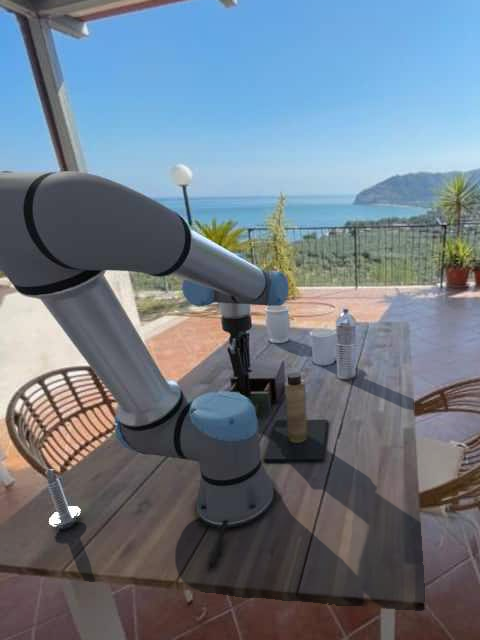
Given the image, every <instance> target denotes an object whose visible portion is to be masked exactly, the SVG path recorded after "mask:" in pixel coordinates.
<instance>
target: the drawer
mask: <svg viewBox="0 0 480 640" xmlns="http://www.w3.org/2000/svg"><path fill="white" fill-rule="evenodd" d="M250 390H251V395H250V396H249V397H247V398H248V399H249V400H250V401H251V402H252V404H253V405H254V408H255V412H256V415H271V405H272V404H273V403H272V400H273V398H274V389H273V381H250ZM228 391H229V392H235V393H238V394H240V392H239V385H238V381H235V382H234V384H233V385H232V387H231V386H230V388H229V390H228Z"/></svg>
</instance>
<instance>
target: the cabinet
mask: <svg viewBox="0 0 480 640" xmlns="http://www.w3.org/2000/svg"><path fill="white" fill-rule="evenodd" d="M249 369H252V371H251V372H247V373H249V381H273V389H274V398H273V400H272V403H271V404H278V402H279V399H280V397H281V395H282V392H283V389H284V387H285V386H284V382H285V381H286V372H285V371H286V370H285V360H284V358H250V368H249ZM229 380H230V388H231V387H232V385H233V384H234V382H235V381H238V377H235V376H234V373H233V374H232V375H231V377H230V378H229Z"/></svg>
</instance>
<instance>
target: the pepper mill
mask: <svg viewBox="0 0 480 640" xmlns="http://www.w3.org/2000/svg"><path fill="white" fill-rule="evenodd" d="M283 387H284V398H285V411H286V420H287V426H288V439H289V441H291V442H293V443H300V442H303V441H305V440H306V439H307V437H308V434H307V420H308V419H307V418H308V417H307V399H306V397H307V396H306V381H305V380H304V379H303V378H302V376H301V373H300V372H290V373H288V374H287V380H286V379H285V382H284V386H283Z"/></svg>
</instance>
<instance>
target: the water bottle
mask: <svg viewBox="0 0 480 640" xmlns="http://www.w3.org/2000/svg"><path fill="white" fill-rule="evenodd" d="M356 325H357V321H356V319H355V317H354V316H353V315H352V314H351V313H349V308H346V307H344V308H342V313H341V314H339V316H338V317H337V318H336V320H335V332H336V340H335V357H336V376H337V378H338V379H340V380H344V381H346V380H347V381H348V380H352V379H354V378H355V377H356V374H357V345H356V343H357V342H356Z"/></svg>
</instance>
